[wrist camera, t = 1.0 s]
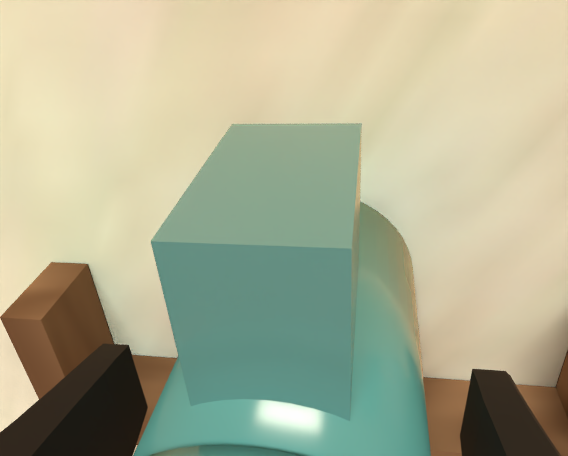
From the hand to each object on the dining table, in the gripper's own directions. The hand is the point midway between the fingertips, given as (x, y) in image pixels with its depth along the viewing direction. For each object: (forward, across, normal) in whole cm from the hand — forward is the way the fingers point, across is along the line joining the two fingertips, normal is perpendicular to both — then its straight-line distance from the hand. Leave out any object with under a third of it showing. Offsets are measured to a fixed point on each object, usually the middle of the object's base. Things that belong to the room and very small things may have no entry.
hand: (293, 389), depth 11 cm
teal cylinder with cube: (+4, 0, -1) cm, 4 cm away
